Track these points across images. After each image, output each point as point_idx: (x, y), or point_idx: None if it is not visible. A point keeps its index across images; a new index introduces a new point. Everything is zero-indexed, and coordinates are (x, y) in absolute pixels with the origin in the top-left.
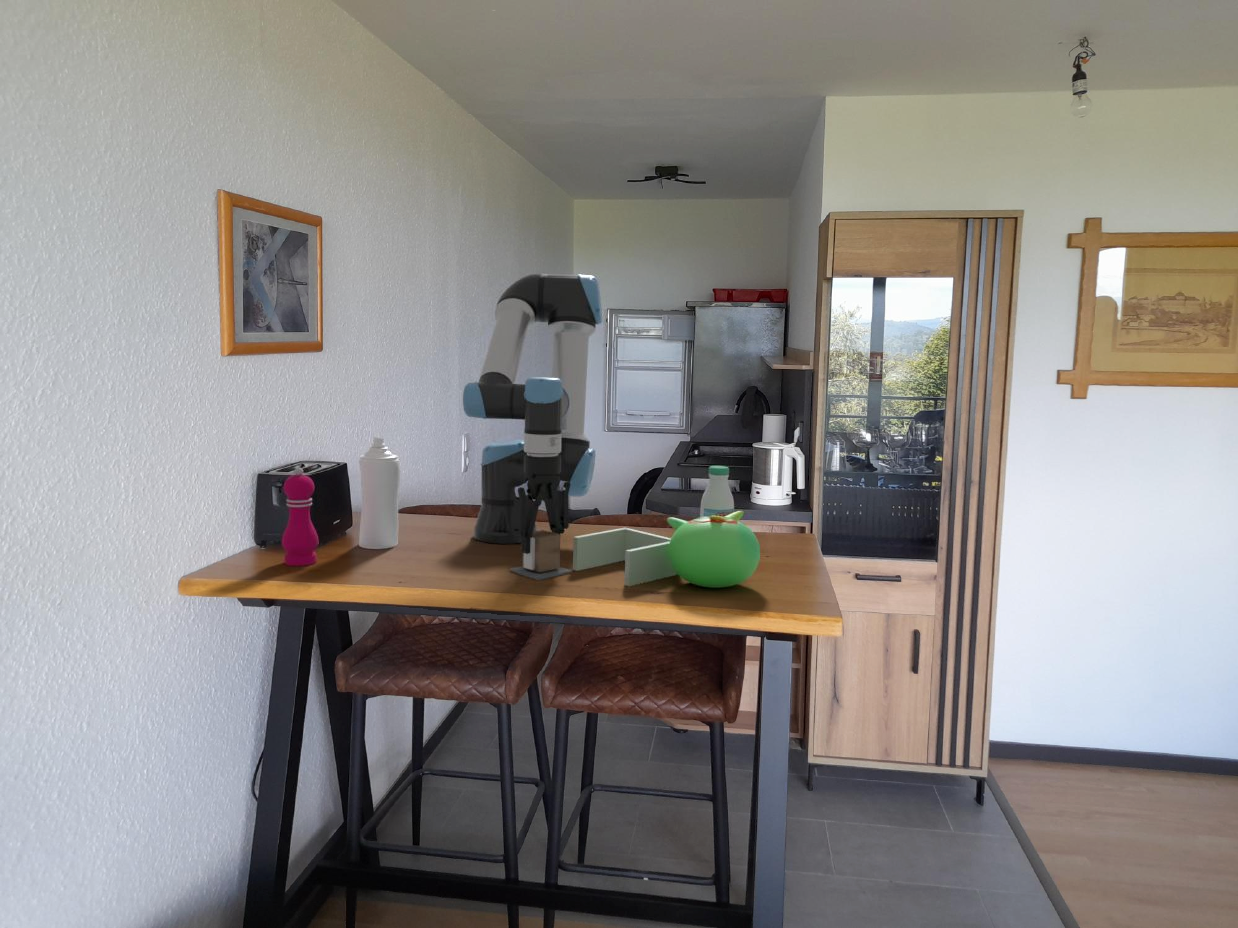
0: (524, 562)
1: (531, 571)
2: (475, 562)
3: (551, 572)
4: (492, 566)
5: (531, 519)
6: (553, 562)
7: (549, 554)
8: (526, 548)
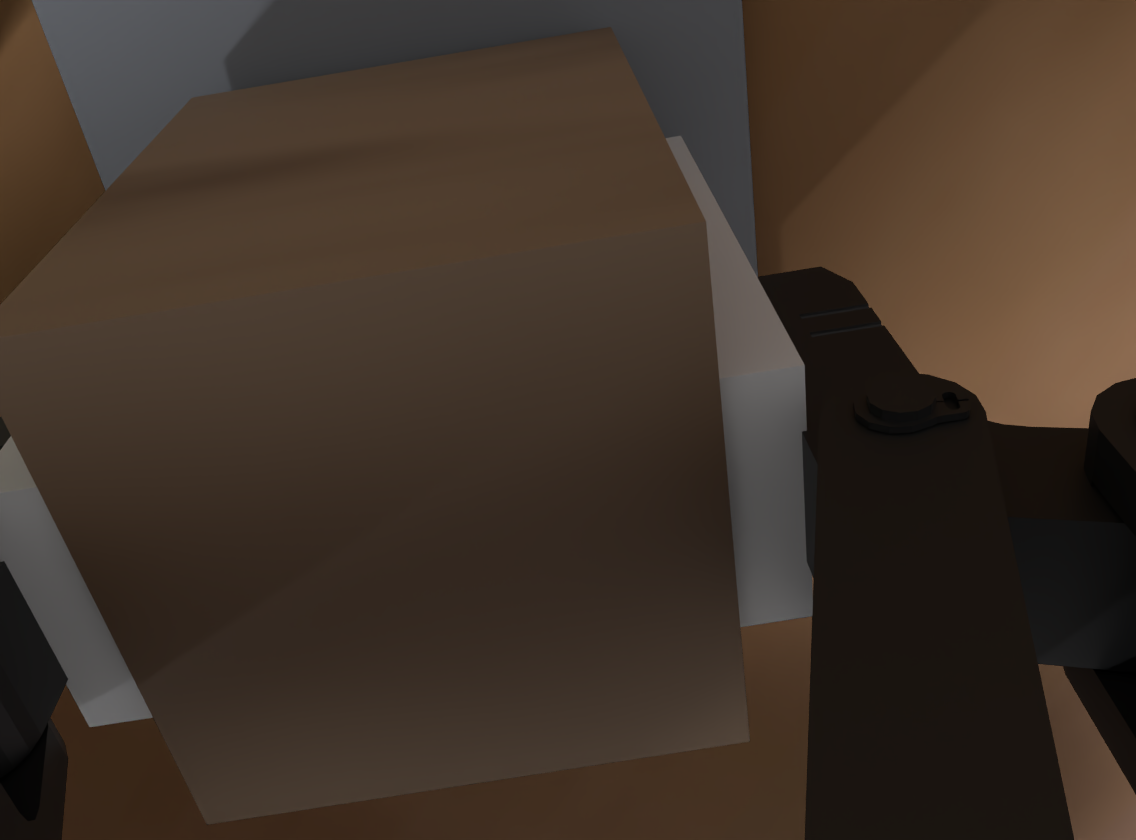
0: None
1: None
2: None
3: (382, 27)
4: (798, 656)
5: (1030, 753)
6: (307, 105)
7: (385, 136)
8: (847, 310)
